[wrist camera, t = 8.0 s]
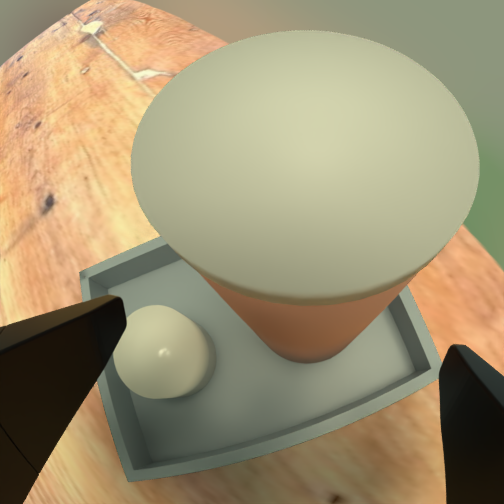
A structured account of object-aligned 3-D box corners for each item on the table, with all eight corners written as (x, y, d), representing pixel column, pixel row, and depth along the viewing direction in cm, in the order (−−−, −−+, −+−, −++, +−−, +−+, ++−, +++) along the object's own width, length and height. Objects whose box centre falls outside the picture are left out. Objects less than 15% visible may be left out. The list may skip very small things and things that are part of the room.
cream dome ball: (153, 405, 16) (125, 407, 13) (133, 331, 17) (105, 321, 15) (227, 384, 16) (211, 384, 13) (202, 307, 17) (183, 291, 15)
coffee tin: (264, 374, 15) (128, 333, 4) (246, 272, 18) (143, 66, 6) (372, 350, 15) (536, 236, 3) (346, 250, 17) (386, 23, 5)
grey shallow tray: (153, 470, 15) (128, 482, 12) (105, 287, 20) (79, 272, 17) (424, 376, 15) (446, 373, 12) (337, 196, 20) (340, 167, 17)
